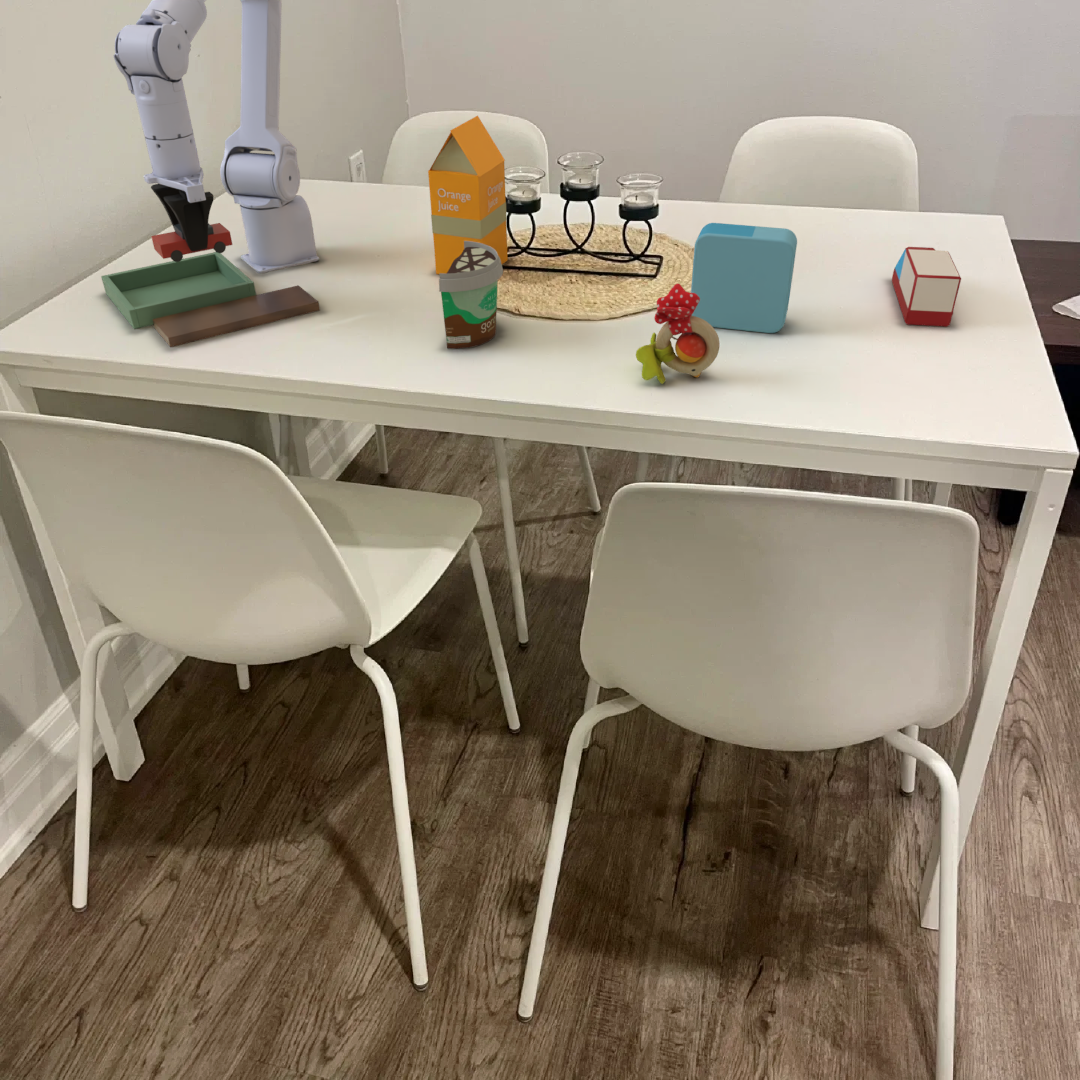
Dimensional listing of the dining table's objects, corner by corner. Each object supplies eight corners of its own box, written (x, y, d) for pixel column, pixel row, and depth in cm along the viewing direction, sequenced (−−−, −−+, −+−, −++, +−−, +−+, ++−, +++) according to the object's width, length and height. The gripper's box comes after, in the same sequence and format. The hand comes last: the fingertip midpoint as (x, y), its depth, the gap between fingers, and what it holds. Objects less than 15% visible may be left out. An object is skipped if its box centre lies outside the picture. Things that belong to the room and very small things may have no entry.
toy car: (223, 241, 134) (218, 215, 132) (234, 250, 131) (228, 224, 129) (155, 254, 130) (149, 228, 128) (165, 264, 127) (158, 238, 125)
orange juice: (435, 274, 144) (423, 128, 132) (461, 253, 151) (452, 113, 139) (484, 281, 142) (477, 133, 130) (509, 259, 148) (504, 117, 136)
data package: (786, 321, 129) (799, 228, 122) (782, 335, 125) (795, 241, 118) (693, 311, 132) (701, 221, 125) (688, 325, 128) (695, 232, 121)
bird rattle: (693, 379, 120) (626, 349, 119) (740, 301, 114) (669, 268, 113) (693, 404, 115) (623, 373, 114) (742, 324, 109) (667, 290, 108)
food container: (492, 357, 122) (488, 278, 116) (443, 353, 123) (437, 275, 117) (514, 316, 131) (512, 241, 125) (469, 313, 132) (465, 239, 126)
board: (300, 295, 138) (298, 285, 137) (320, 312, 133) (318, 301, 133) (155, 329, 129) (152, 319, 129) (171, 349, 125) (168, 338, 124)
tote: (222, 269, 146) (218, 251, 145) (257, 301, 137) (253, 282, 135) (106, 295, 139) (100, 275, 138) (134, 331, 129) (129, 310, 128)
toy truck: (931, 283, 139) (942, 236, 135) (949, 327, 127) (962, 277, 123) (891, 281, 139) (900, 234, 135) (904, 325, 127) (915, 275, 123)
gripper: (120, 127, 125) (147, 234, 133) (152, 152, 115) (178, 267, 123) (176, 118, 128) (199, 224, 136) (212, 143, 118) (234, 255, 126)
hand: (193, 244), depth 130 cm, fingers closed on toy car, 4 cm apart
